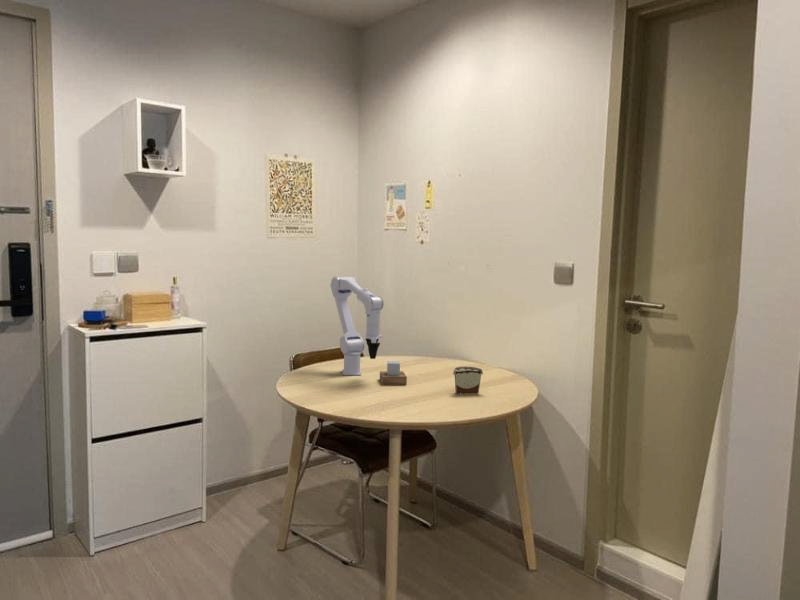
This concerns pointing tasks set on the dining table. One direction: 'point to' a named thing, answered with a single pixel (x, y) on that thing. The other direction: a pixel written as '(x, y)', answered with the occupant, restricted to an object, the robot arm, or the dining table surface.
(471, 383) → the food container
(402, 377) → the walnut block
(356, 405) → the dining table surface
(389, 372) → the gray cube
